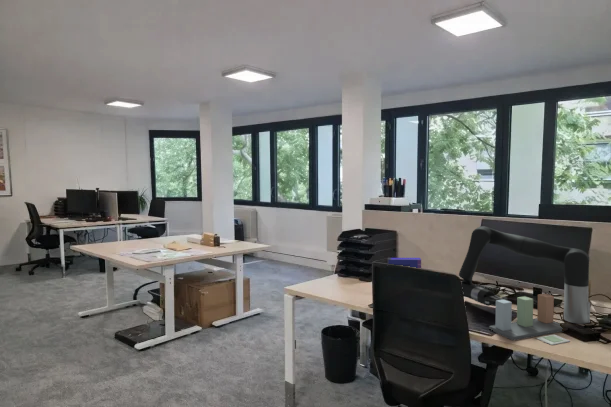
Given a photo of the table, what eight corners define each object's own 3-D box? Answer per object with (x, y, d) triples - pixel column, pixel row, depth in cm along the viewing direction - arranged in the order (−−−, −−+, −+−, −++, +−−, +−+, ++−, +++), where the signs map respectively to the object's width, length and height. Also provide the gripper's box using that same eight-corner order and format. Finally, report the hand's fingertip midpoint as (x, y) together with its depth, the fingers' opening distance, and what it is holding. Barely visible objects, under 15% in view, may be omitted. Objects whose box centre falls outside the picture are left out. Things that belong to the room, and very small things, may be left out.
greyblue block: (503, 325, 176) (503, 299, 175) (511, 329, 172) (511, 302, 171) (495, 327, 174) (495, 300, 174) (503, 330, 170) (503, 303, 170)
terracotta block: (544, 318, 183) (545, 293, 182) (553, 322, 179) (553, 296, 178) (537, 320, 182) (537, 294, 181) (545, 323, 178) (546, 297, 177)
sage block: (524, 322, 180) (524, 296, 179) (532, 325, 175) (533, 299, 175) (516, 323, 178) (517, 297, 177) (525, 327, 174) (525, 300, 173)
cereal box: (419, 300, 220) (419, 257, 219) (421, 302, 215) (421, 259, 214) (387, 299, 222) (387, 257, 220) (388, 302, 217) (388, 259, 216)
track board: (542, 320, 186) (542, 317, 186) (568, 330, 174) (568, 326, 173) (489, 329, 176) (489, 326, 176) (512, 340, 164) (512, 336, 164)
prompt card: (554, 335, 168) (554, 333, 168) (570, 341, 162) (570, 340, 162) (536, 338, 165) (536, 337, 165) (551, 345, 159) (551, 343, 159)
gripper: (471, 290, 199) (498, 299, 182) (493, 287, 203) (521, 296, 186) (471, 304, 199) (498, 315, 183) (493, 301, 203) (521, 312, 187)
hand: (509, 306), depth 184 cm, fingers closed
